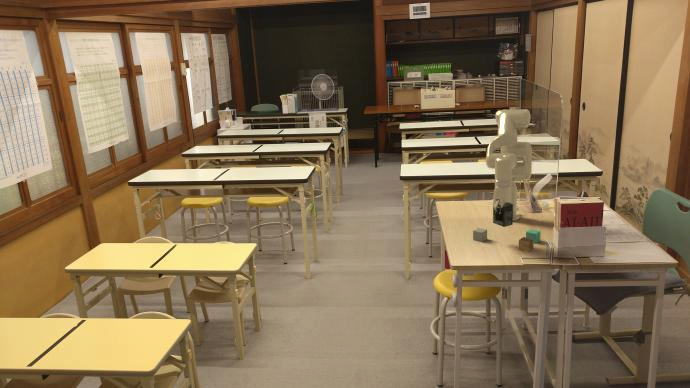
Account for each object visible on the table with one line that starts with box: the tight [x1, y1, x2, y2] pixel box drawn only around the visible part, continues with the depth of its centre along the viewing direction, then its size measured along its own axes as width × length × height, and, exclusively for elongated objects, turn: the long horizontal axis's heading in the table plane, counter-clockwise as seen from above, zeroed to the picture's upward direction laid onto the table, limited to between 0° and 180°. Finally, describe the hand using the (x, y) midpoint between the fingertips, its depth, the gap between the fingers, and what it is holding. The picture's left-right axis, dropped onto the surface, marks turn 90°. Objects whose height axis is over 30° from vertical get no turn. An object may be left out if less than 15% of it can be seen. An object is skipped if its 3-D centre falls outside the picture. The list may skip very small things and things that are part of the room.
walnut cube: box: [518, 236, 535, 253], centre depth 249 cm, size 5×5×5 cm
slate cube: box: [472, 227, 488, 243], centre depth 265 cm, size 5×5×5 cm
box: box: [492, 203, 514, 228], centre depth 254 cm, size 8×6×11 cm
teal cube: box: [525, 228, 541, 244], centre depth 259 cm, size 5×5×5 cm
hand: (502, 218), depth 255 cm, fingers closed on box, 7 cm apart
